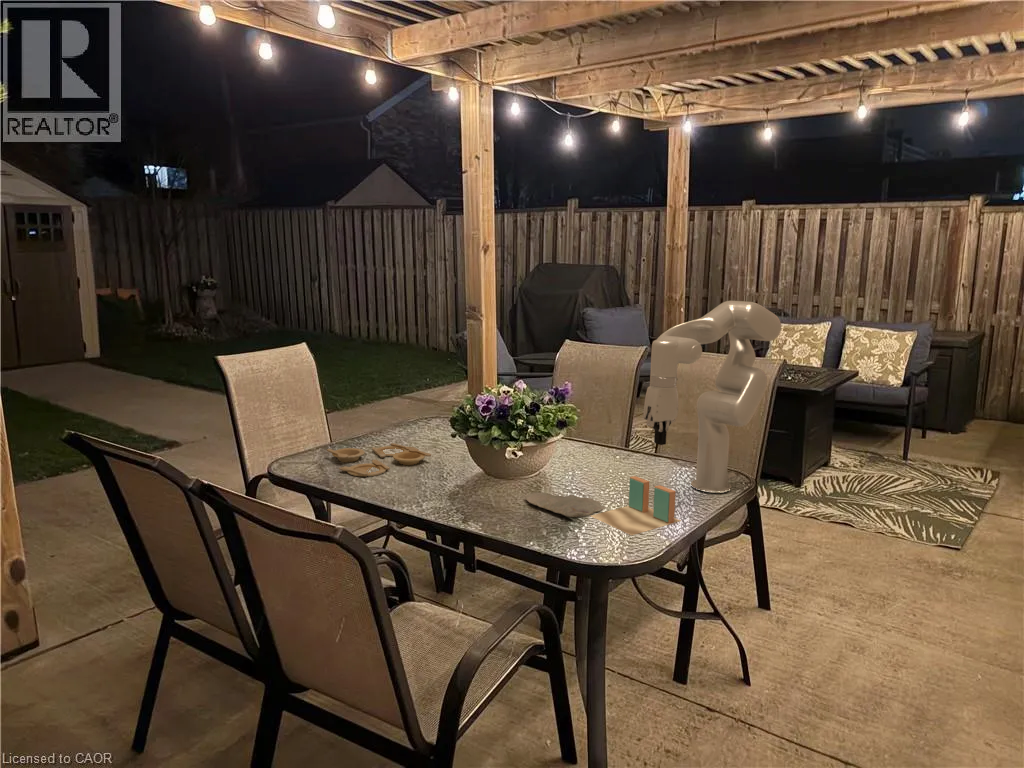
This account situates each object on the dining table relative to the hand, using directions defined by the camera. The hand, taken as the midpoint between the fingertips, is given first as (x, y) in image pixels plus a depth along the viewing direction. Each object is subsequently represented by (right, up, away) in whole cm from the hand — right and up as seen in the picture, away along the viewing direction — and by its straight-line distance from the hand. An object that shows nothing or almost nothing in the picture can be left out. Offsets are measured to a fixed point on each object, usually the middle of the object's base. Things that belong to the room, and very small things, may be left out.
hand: (659, 443), depth 210 cm
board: (-9, -21, -8) cm, 24 cm away
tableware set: (-91, -11, +49) cm, 104 cm away
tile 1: (-6, -19, -1) cm, 20 cm away
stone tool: (-29, -20, +3) cm, 35 cm away
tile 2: (-1, -21, -9) cm, 22 cm away
